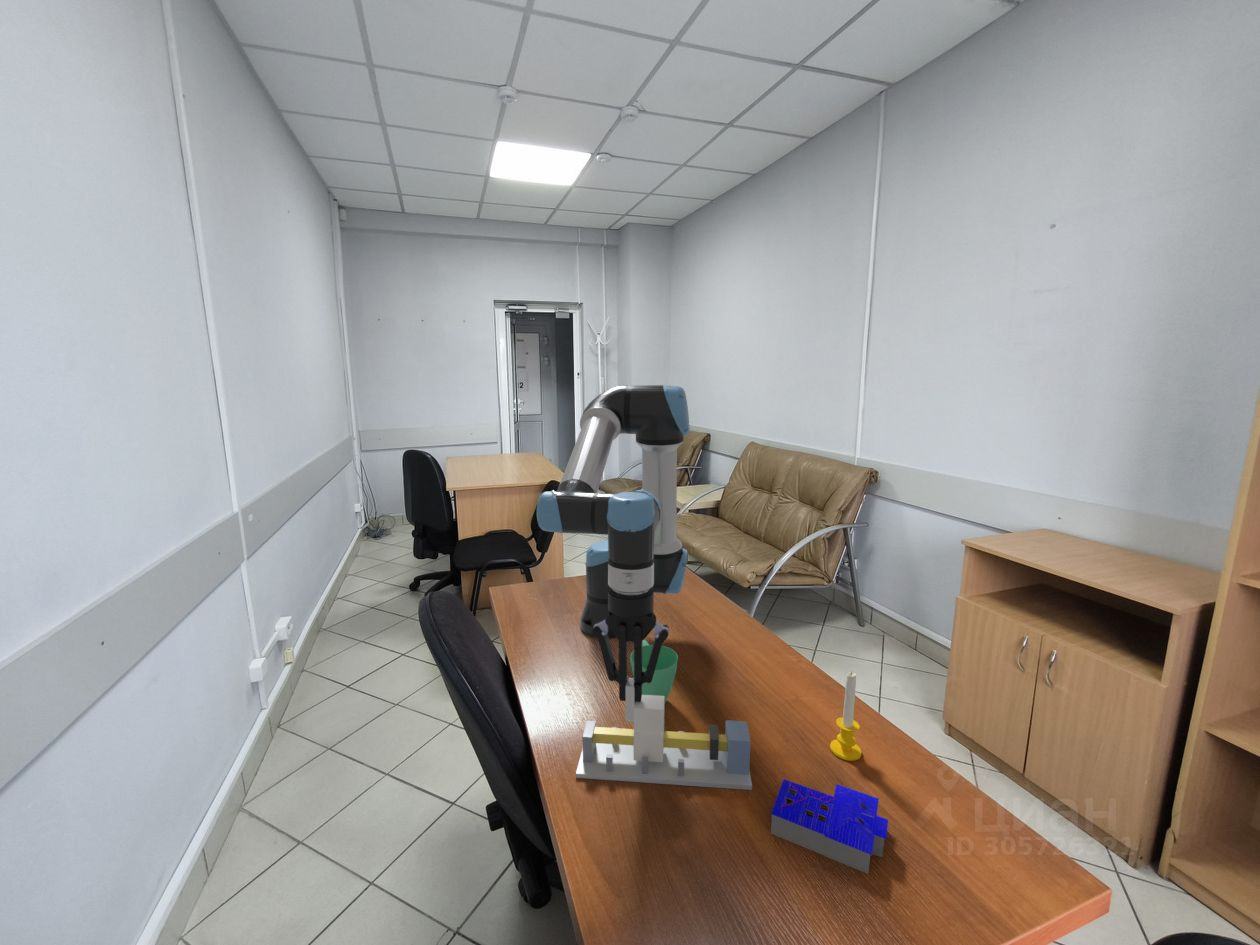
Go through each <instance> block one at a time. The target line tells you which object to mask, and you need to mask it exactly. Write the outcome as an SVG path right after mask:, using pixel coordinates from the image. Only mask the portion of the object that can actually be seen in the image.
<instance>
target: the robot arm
mask: <svg viewBox="0 0 1260 945" xmlns="http://www.w3.org/2000/svg"><path fill="white" fill-rule="evenodd" d="M688 407H689V406H688V400H687V395H686V391H685V389H684V388H683V387H681V386H678V385H667V384H651V385H650V384H645V385H640V384H639V385H627V384H625V385H624V384H623V385H617V386H614V387H611V388H609V389H607V390H605V391H603V392H601V393H600V394H598V395H597V396H596V397H594V398H593V399H592V400H591V401H590V402H589V403H588V405H587V406H586V407H585V408H584V410H583V412H582V414H581V416H580V421H579V428H580V431H579V434H578V437H577V439H576V442H575V444H574V447H573V450H572V451H571V454H570V457H569V459H568V462H567V464H566V467H565V469H564V473H563V475H562V477H561V479H560V483H559V485H558V486H557V487H558V488H557V490H556V491H555V490H554V489H553V490H551V491H543V492H542V493H541V494H540V495H539V497H538V500H537V505H536V519H537V524H538V527H539V529H541V530H542V531H544V532H550V533H560V534H587V535H589V534H590V535H604V536H605V535H606V536H607V539H605V540H601V541H600V540H599V541H597V542H595V543H593V544H590V546H589V547H588V548H587V550H586V556H585V558H586V559H585V562H584V563H585V564H584V565H585V572H586V573H585V574H586V575H585V579H586V580H585V581H586V582H585V584H586V590H585V591H586V600H585V602H584V606H583V609H582V613H581V615H580V619H579V620H580V622H579V623H580V629H581V631H582V632H584V633H585V634H586V635H589V636H591V637H595V638H596V640H597V641H598V645H599V648H600V653H601V656H602V659H603V663H604V668H605V671H606V675H607V679H608V681H609V682H617V683H618V689H619V690H618V694H619V695H618V699H619V701H620V702H625V722H631V723H634V704H635V702H640V701H641V698H642V684H643V683H651V682H652V679H653V675H654V671H655V668H656V664H657V661H658V657H659V653H660V650H661V646H663V644H664V643H665V641H666V640H667V639H668V637H669V630H670V627H669V626H668V625H667V624H661V623H660V622H658V621H657V616H656V614H655V612H654V604H655V603H654V594H662V595H666V594H675V595H676V594H680V592H681V591H682V590H683V585H684V580H685V574H686V569H687V568H686V566H687V560H688V549H686V548H683V542H682V541H681V539H679V538H678V537H677V512H678V511H677V510H678V509H677V505H678V503H677V501H678V499H677V498H678V496H677V494H678V493H677V492H678V490H677V488H678V487H677V486H678V485H677V484H678V477H677V476H678V474H677V473H678V449H679V447H680V446H681V445H682V444H683V443H684V436H687V435H689V434H690V418H689V417H690V416H689V409H688ZM622 434H623V435H624V434H627V435H635V443H636V444H637V445H638V446H639V447H640V448H641V452H642V453H641V456H642V457H641V458H642V459H641V461H642V462H641V465H642V466H641V467H642V468H641V469H642V470H641V472H642V475H641V476H642V478H641V479H642V489H637V490H633V491H629V492H628V491H626V492H618V493H613V492H604V493H603V492H598V490H599V487H600V484H601V481H602V479H603V475H604V471H605V468H606V464H607V461H608V459H609V458H608V457H609V455H610V450H611V447H612V444H613V441H615V440H616V439H617V438H618V437H619V435H622ZM652 630H653V636H654V641H653V644H652V645H653V647H652V651H651V655H650V658H649V662H648V665H647V669H646V671H645V672H642V642H643V640H646V638H647V637H648V636H649V634H650V633H651V632H652ZM615 638H616V639H617V641H618V645H617V646H618V668H617V664H616V662H615V658H614V653H613V650H612V645H611V642H610V639H615ZM629 642H632V643H633V649H634V650H633V651H634V676H633V677H628V674H629V673H628V643H629Z"/></svg>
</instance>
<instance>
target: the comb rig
mask: <svg viewBox="0 0 1260 945" xmlns="http://www.w3.org/2000/svg"><path fill="white" fill-rule="evenodd" d="M724 728H725V729H724V730H725V732H724V734H719V729H718V725H717V724H716V725H715V724H708V733H703V732H702V733H701V732H687V731H686V732H685V731H684V730H678V731H672V730H671V731H667V730H664V738H663V747H664V752H663V762H651V761H648V757H644V756H642V761H636V760H634V728H621V727H620V728H618V726H611V727H605V726H604V727H603V726H601V727H600V726H597V721H596V720H586V723H585V727H584V731H583V734H582V748H581V753H580V757H579V760H578V764H577V767H576V772H575V779H586V780H587V779H588V780H589V779H590V780H601V781H602V780H604V781H615V782H616V781H617V782H618V781H619V782H630V783H631V782H633V783H645V784H646V783H647V784H661V785H673V786H675V785H676V786H690V787H703V788H714V789H715V788H718V789H733V790H744V791H746V790H748V791H752V790H753V781H752V777H751V771H750V761H751V757H750V756H751V737H750V731H749V727H748V722H747V720H745V721H744V720H730V719H729V720H728V719H726V720H725V727H724Z"/></svg>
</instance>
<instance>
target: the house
mask: <svg viewBox="0 0 1260 945" xmlns="http://www.w3.org/2000/svg"><path fill="white" fill-rule="evenodd" d="M878 807H879V798H878V797H875V796H872V795H870V794H868V793H867V794H866V793H863V792H860V791H858V790H855V789H853V788H849V787H846V786H844V785H840V784H839V783H838V784H836V786H835V789H834V795H833V796H832V795H830V794H827V793H825V792H822V791H819V790H816V789H814V788H810V787H807V786H805V785H802V784H799V783H797V782H793V781H791V780H788V779H785V778H783V780H782V782H781V785H780V788H779V790H778V794H777V796H776V800H775V802H774V805H773V807H772V809H771V813H770V816H771V821H770V822H771V823H770V834H771V835H774V836H775V837H778V838H781V839H783V840H786V841H787V842H791V843H793V844H795V845H797V846H800V847H803V848H804V849H808V850H810V851H813V852H815V853H817V854H820V855H822V856H824V857H826V858H828V859H831V860H833V861H836V862H838V863H840V864H843V865H846V866H848V867H849V868H853V869H855V870H858V871H860V872H863V873H865V874H867V875H869V871H870V862H871V856H873V855H874V856H877V857H880V858H884V857H883V856H884V849H885V848H884V846H885V845H884V844H885V840H887V835H888V825H889V819H887V818H885V817H882V816H879V815H878Z"/></svg>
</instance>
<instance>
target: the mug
mask: <svg viewBox="0 0 1260 945" xmlns="http://www.w3.org/2000/svg"><path fill="white" fill-rule="evenodd" d="M652 647H653V644H650V643H648V641H647V640H646V639H644V640H643V642H642V672H645V671H646V669H647V665H648V662H649V658H650V655H651V651H652ZM629 660H630V665H631V671H632V672H631V673H632V676H633V677H634V650H633V651H632V652H631V653H630V658H629ZM678 664H679V655H678V653H677V652H676V651H675V650H674V649H672V648H671V647H668V646H665V645H662V646H661V650H660V653H659V657H658V661H657V664H656V668H655V671H654V675H653V679H652V682H651V683H643V684H642V695H657V696H664V705H665V704H666V703H667V700H668V697H669V696H670V694H671V690H672V688H673V685H674V681H675V678H676V673H677V669H678V666H679V665H678Z"/></svg>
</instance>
